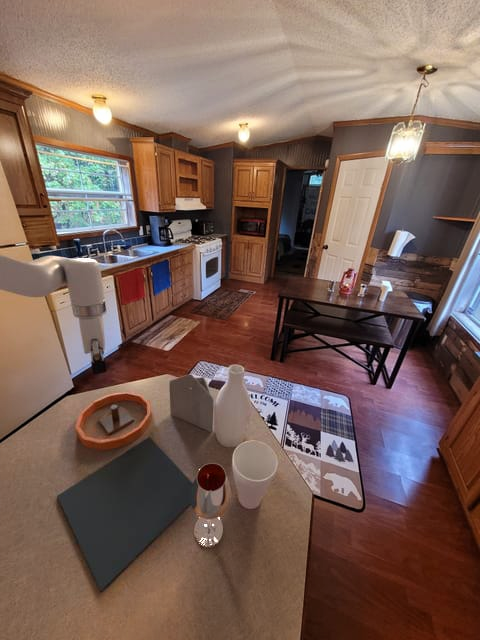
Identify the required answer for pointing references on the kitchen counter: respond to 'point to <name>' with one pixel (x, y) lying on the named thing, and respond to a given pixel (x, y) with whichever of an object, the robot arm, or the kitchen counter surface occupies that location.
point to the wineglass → (210, 502)
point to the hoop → (118, 440)
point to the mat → (125, 508)
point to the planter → (192, 401)
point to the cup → (253, 471)
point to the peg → (115, 419)
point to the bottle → (232, 409)
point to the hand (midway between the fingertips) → (99, 363)
